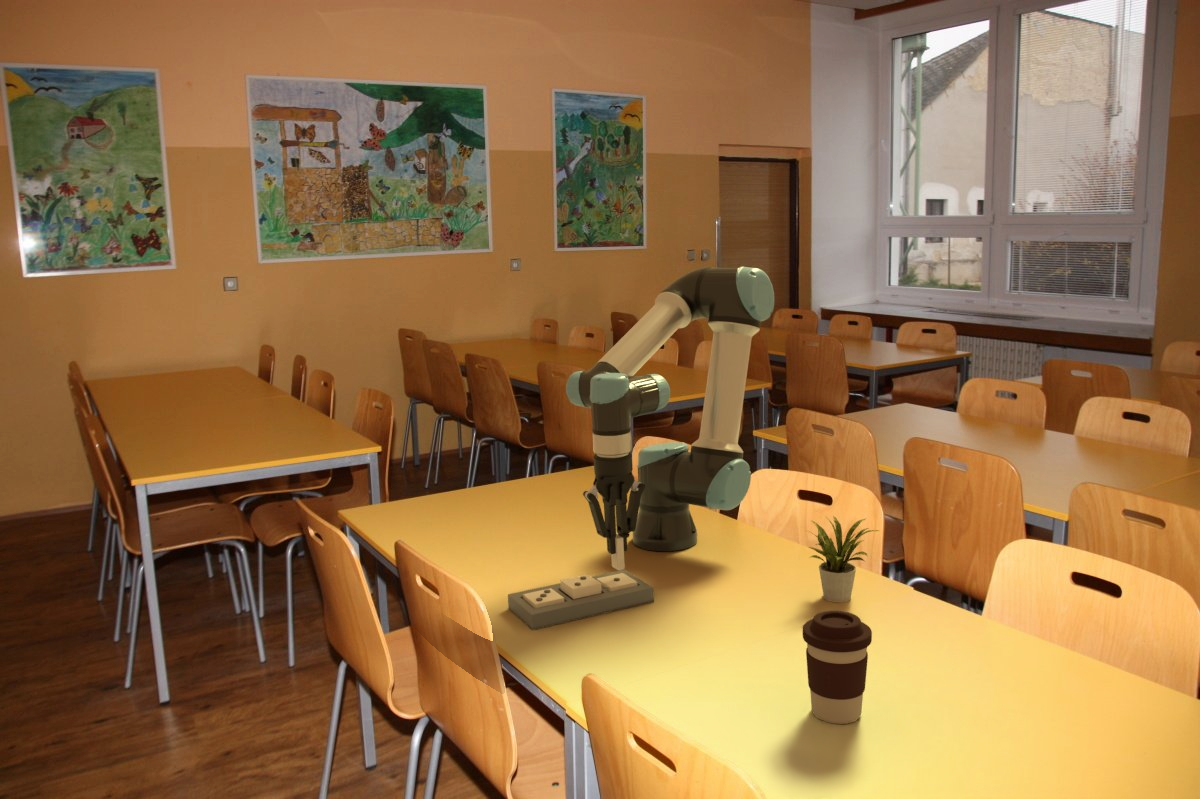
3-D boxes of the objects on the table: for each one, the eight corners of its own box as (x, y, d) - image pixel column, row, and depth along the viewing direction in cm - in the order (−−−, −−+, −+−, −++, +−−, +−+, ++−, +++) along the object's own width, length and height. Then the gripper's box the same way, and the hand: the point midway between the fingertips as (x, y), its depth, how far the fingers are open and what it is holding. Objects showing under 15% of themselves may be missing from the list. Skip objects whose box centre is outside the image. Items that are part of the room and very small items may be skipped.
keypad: (625, 583, 202) (624, 569, 202) (654, 601, 192) (653, 587, 191) (508, 608, 191) (507, 594, 190) (532, 630, 180) (531, 614, 180)
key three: (551, 597, 191) (551, 586, 191) (564, 607, 186) (564, 596, 186) (523, 603, 189) (522, 593, 188) (535, 614, 183) (535, 603, 183)
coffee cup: (794, 700, 150) (794, 608, 148) (857, 695, 151) (858, 603, 149) (813, 732, 141) (814, 634, 138) (880, 727, 141) (882, 629, 139)
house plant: (887, 589, 194) (888, 510, 191) (875, 614, 182) (876, 530, 179) (815, 580, 200) (815, 504, 197) (799, 605, 188) (799, 523, 185)
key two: (587, 583, 195) (587, 573, 194) (601, 593, 189) (601, 582, 189) (560, 589, 192) (560, 578, 192) (573, 599, 187) (573, 588, 186)
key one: (623, 582, 198) (622, 571, 198) (637, 591, 193) (637, 580, 193) (596, 587, 196) (596, 577, 195) (610, 597, 191) (610, 586, 190)
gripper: (632, 444, 196) (637, 555, 200) (574, 454, 190) (580, 568, 195) (651, 451, 189) (655, 566, 194) (591, 462, 184) (597, 580, 188)
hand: (618, 567), depth 194 cm, fingers closed
